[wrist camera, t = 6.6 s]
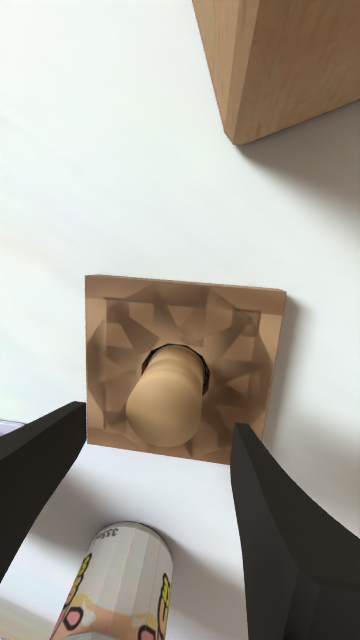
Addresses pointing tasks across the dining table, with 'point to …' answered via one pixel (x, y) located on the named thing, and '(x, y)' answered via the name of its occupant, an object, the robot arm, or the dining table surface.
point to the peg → (168, 397)
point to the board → (185, 329)
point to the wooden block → (279, 61)
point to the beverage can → (119, 588)
